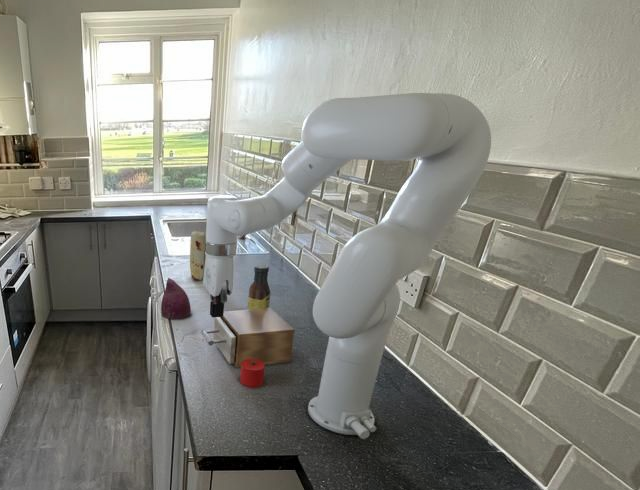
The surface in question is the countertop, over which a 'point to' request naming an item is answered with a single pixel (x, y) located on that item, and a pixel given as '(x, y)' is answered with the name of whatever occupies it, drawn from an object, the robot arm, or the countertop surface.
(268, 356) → the cabinet
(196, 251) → the food model
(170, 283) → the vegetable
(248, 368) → the red cylinder
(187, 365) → the countertop surface
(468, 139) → the robot arm
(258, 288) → the sauce bottle
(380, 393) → the countertop surface
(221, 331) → the drawer
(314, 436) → the countertop surface
